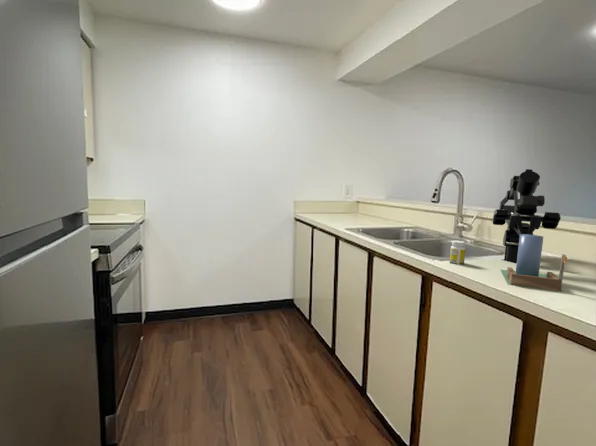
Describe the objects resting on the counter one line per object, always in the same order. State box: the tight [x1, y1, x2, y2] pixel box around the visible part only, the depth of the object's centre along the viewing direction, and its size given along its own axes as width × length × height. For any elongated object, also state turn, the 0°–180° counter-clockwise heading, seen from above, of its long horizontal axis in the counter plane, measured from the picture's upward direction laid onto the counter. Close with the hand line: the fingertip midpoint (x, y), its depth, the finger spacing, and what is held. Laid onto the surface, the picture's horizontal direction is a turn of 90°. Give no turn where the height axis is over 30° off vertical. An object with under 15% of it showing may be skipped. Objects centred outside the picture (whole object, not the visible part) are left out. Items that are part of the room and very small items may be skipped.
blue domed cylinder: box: [515, 234, 544, 277], centre depth 106 cm, size 6×6×13 cm
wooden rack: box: [506, 254, 568, 292], centre depth 99 cm, size 12×12×10 cm
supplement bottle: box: [449, 240, 466, 266], centre depth 123 cm, size 5×5×8 cm
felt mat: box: [500, 269, 564, 293], centre depth 104 cm, size 19×13×1 cm
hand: (526, 238), depth 113 cm, fingers closed
